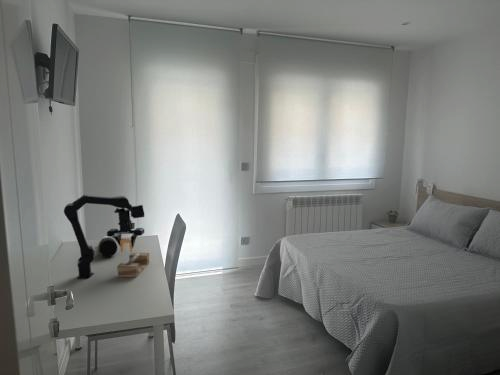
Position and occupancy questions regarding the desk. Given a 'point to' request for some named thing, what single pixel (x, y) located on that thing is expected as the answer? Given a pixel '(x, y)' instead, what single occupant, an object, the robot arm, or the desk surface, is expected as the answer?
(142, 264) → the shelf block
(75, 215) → the robot arm
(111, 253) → the black cylinder
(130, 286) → the desk surface
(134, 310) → the desk surface
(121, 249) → the tan u-shaped bracket
